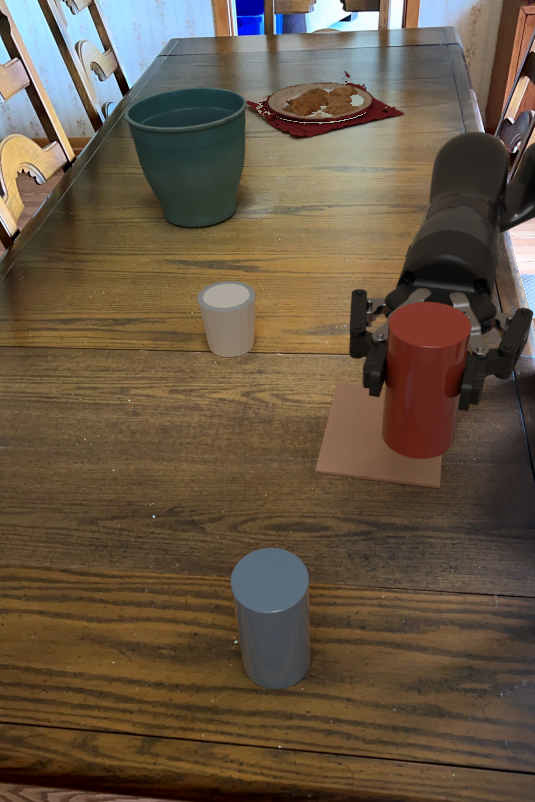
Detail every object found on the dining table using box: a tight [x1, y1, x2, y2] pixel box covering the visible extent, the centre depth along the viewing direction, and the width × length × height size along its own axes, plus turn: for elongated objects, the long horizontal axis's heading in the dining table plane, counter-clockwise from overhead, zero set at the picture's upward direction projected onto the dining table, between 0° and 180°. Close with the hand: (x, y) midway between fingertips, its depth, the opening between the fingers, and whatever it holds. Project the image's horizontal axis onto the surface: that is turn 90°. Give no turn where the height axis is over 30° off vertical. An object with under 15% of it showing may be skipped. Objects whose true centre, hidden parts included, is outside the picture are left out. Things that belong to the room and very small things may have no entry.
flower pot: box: [124, 87, 248, 228], centre depth 112 cm, size 18×18×17 cm
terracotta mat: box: [314, 382, 443, 489], centre depth 74 cm, size 12×14×1 cm
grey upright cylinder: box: [230, 547, 312, 690], centre depth 52 cm, size 5×5×10 cm
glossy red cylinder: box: [381, 302, 471, 459], centre depth 51 cm, size 5×5×10 cm
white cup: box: [196, 280, 256, 358], centre depth 86 cm, size 7×7×7 cm
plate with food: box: [246, 70, 405, 138], centre depth 150 cm, size 24×26×4 cm
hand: (418, 393), depth 48 cm, fingers closed on glossy red cylinder, 5 cm apart
